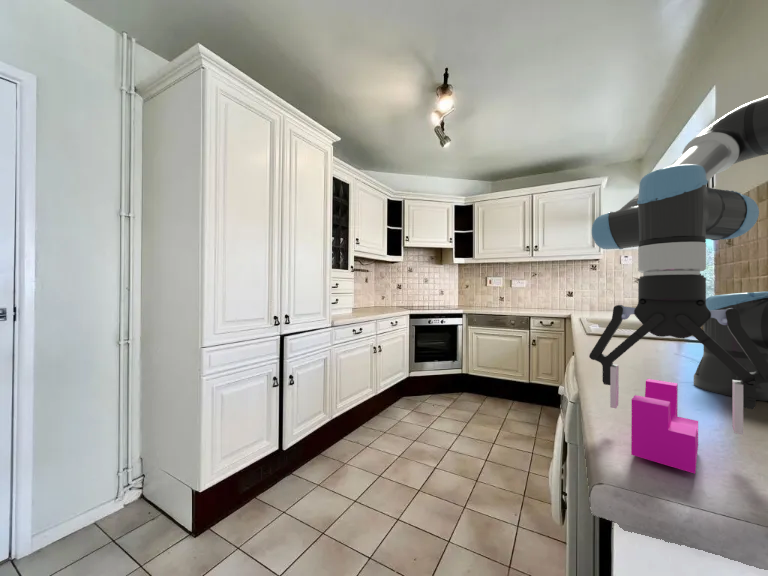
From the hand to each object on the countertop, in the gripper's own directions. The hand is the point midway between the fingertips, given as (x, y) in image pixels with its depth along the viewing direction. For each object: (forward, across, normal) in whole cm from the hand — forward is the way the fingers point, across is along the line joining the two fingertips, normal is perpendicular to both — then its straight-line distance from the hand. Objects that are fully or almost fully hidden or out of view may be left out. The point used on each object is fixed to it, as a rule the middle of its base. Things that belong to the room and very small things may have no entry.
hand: (670, 417), depth 48 cm
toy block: (+4, 0, +2) cm, 4 cm away
